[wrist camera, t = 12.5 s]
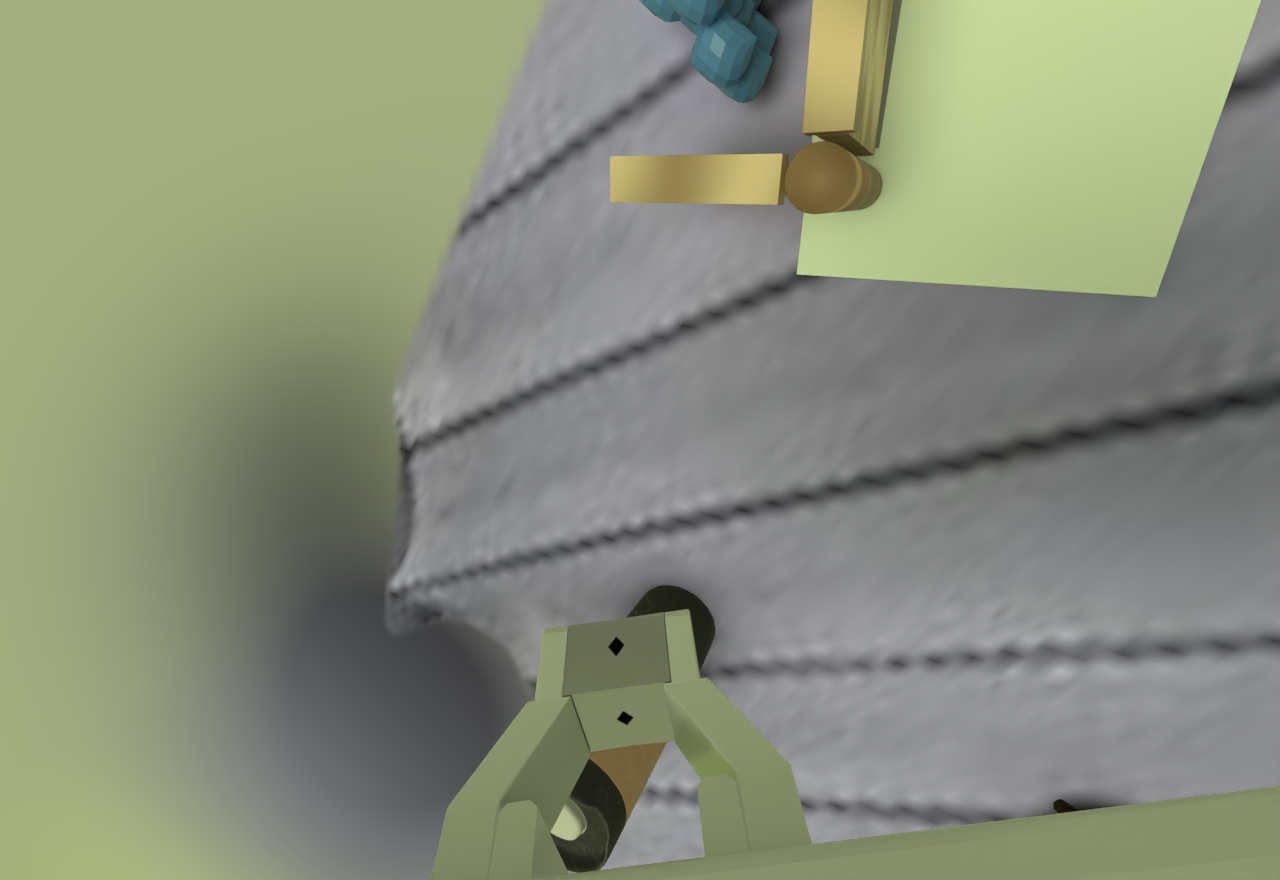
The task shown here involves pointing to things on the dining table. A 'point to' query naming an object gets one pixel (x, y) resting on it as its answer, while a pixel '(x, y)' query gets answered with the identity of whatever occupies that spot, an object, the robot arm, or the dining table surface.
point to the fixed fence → (750, 179)
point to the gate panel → (846, 72)
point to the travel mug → (620, 761)
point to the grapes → (725, 41)
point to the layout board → (1037, 143)
